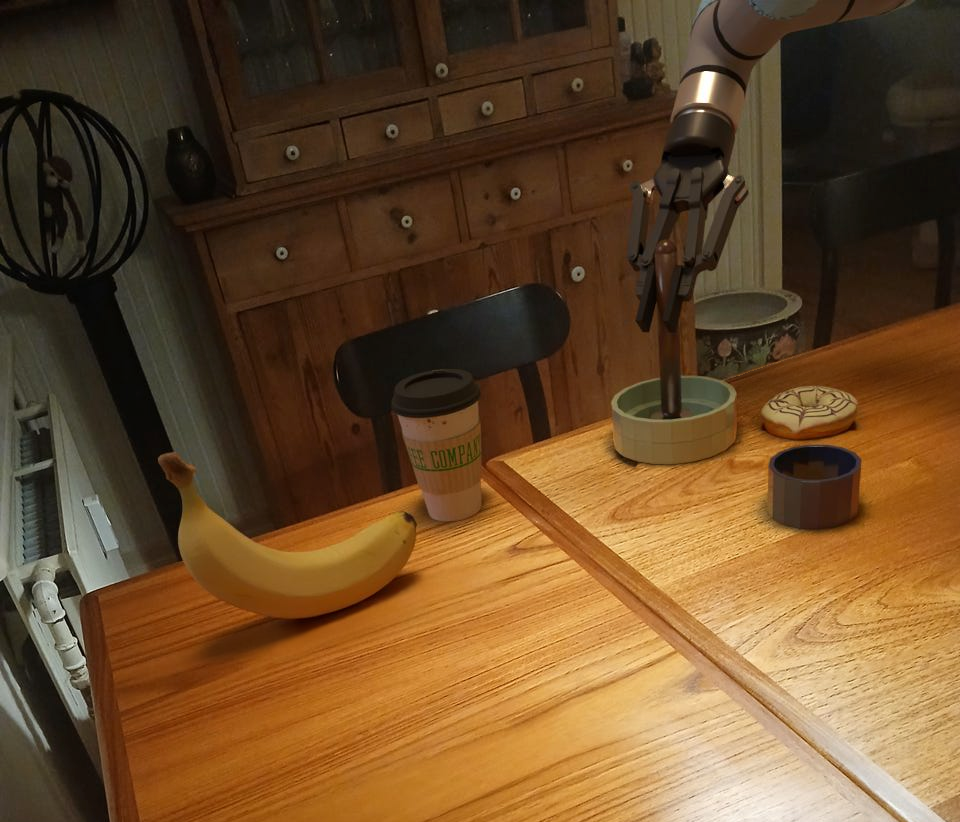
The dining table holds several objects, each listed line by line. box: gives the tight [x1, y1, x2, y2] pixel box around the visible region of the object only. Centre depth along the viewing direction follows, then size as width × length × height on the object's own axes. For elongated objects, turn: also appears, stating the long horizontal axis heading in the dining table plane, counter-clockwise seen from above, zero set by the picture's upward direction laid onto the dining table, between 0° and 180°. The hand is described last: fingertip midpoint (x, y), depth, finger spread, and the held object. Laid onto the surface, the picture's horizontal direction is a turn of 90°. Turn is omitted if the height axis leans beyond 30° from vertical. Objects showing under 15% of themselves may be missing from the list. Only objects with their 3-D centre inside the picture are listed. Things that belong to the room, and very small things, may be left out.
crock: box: [766, 444, 863, 531], centre depth 98 cm, size 9×9×6 cm
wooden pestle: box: [651, 239, 693, 420], centre depth 112 cm, size 5×5×22 cm
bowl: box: [610, 375, 738, 465], centre depth 117 cm, size 14×14×6 cm
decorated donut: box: [760, 385, 858, 440], centre depth 117 cm, size 10×11×4 cm
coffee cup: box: [390, 368, 483, 523], centre depth 109 cm, size 10×10×15 cm
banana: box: [157, 451, 418, 620], centre depth 93 cm, size 23×6×20 cm, turn 117°
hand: (655, 326), depth 108 cm, fingers closed on wooden pestle, 2 cm apart
